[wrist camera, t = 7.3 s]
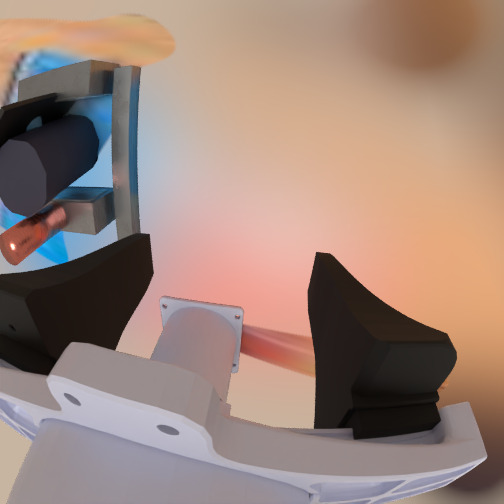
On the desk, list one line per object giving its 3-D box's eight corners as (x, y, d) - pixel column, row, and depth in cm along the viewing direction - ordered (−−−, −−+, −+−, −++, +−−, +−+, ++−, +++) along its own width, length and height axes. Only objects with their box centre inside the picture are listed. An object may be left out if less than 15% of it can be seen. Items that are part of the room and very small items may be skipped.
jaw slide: (119, 215, 23) (51, 275, 14) (54, 210, 23) (-14, 258, 15) (117, 186, 22) (41, 236, 13) (50, 185, 22) (-23, 227, 13)
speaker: (41, 115, 19) (-39, 145, 10) (86, 85, 18) (1, 99, 9) (68, 184, 23) (-1, 238, 14) (113, 161, 22) (43, 212, 13)
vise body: (140, 234, 24) (120, 256, 20) (43, 224, 24) (20, 240, 21) (141, 61, 17) (115, 55, 13) (34, 83, 17) (5, 86, 14)
